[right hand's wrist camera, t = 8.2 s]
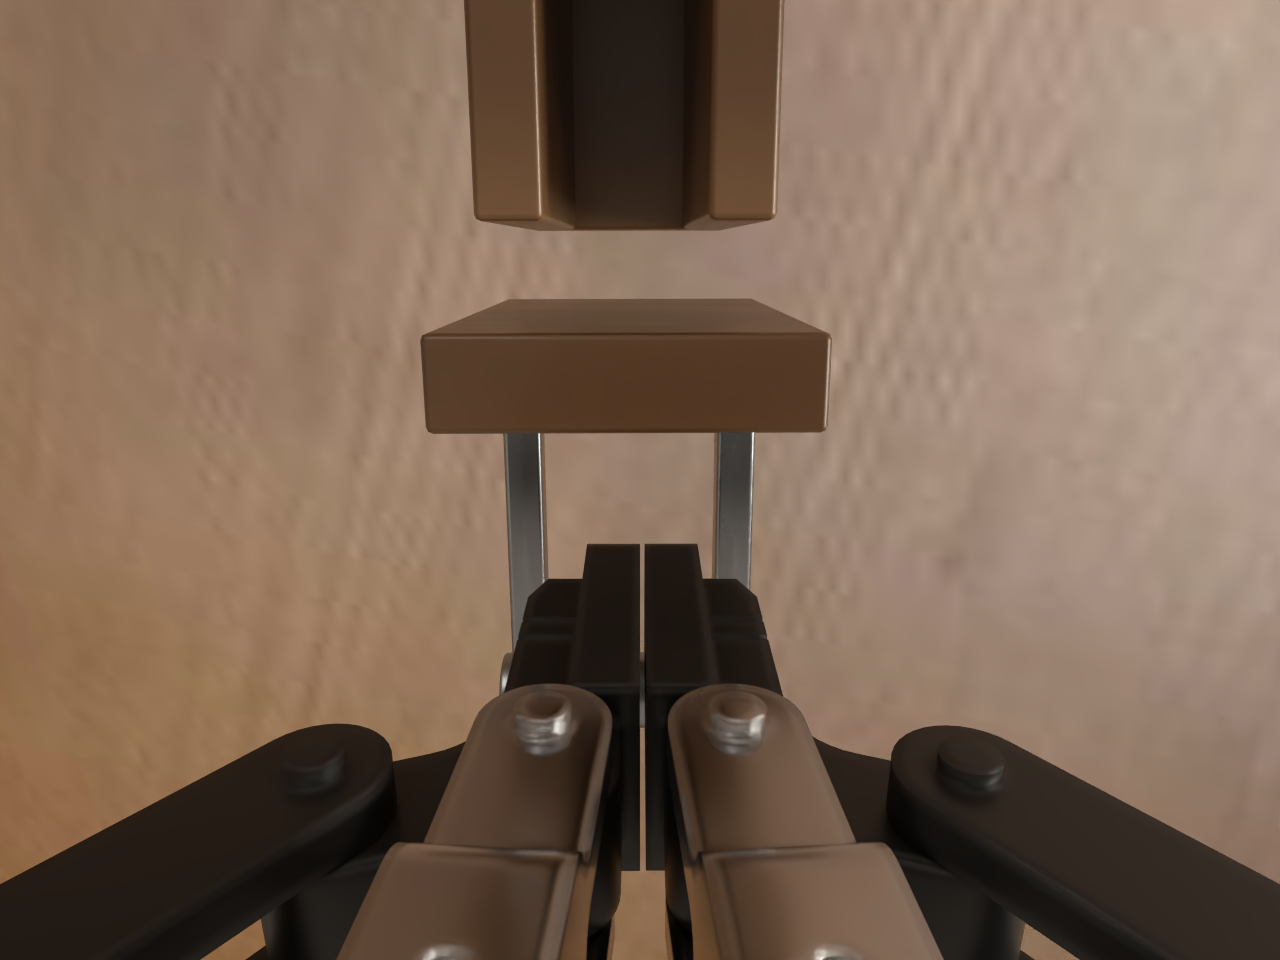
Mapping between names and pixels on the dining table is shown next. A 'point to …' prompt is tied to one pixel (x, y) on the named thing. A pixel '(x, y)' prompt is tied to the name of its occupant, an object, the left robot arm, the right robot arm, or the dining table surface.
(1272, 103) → the dining table surface
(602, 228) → the drawer
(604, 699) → the right robot arm
